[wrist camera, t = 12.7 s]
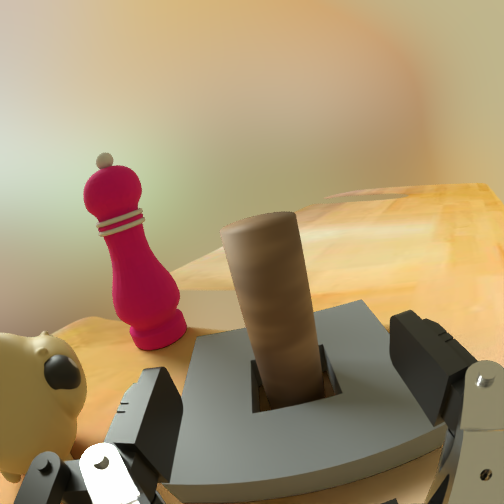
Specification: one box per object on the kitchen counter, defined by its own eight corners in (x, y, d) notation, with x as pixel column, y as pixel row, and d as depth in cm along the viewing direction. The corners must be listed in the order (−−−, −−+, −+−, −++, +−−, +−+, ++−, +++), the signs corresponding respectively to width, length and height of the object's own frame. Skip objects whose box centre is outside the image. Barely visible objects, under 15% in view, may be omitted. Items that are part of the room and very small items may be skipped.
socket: (182, 502, 11) (161, 483, 10) (205, 359, 24) (196, 336, 23) (441, 446, 10) (452, 419, 9) (363, 324, 23) (361, 299, 23)
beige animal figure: (143, 454, 14) (55, 316, 11) (19, 518, 7) (-94, 397, 4) (98, 391, 21) (44, 285, 18) (5, 441, 14) (-62, 341, 11)
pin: (272, 428, 15) (215, 240, 12) (269, 390, 19) (222, 223, 15) (330, 415, 15) (302, 220, 12) (319, 379, 19) (289, 208, 15)
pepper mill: (121, 341, 30) (62, 170, 24) (168, 313, 35) (120, 155, 29) (151, 361, 25) (78, 150, 19) (204, 325, 30) (149, 135, 24)
